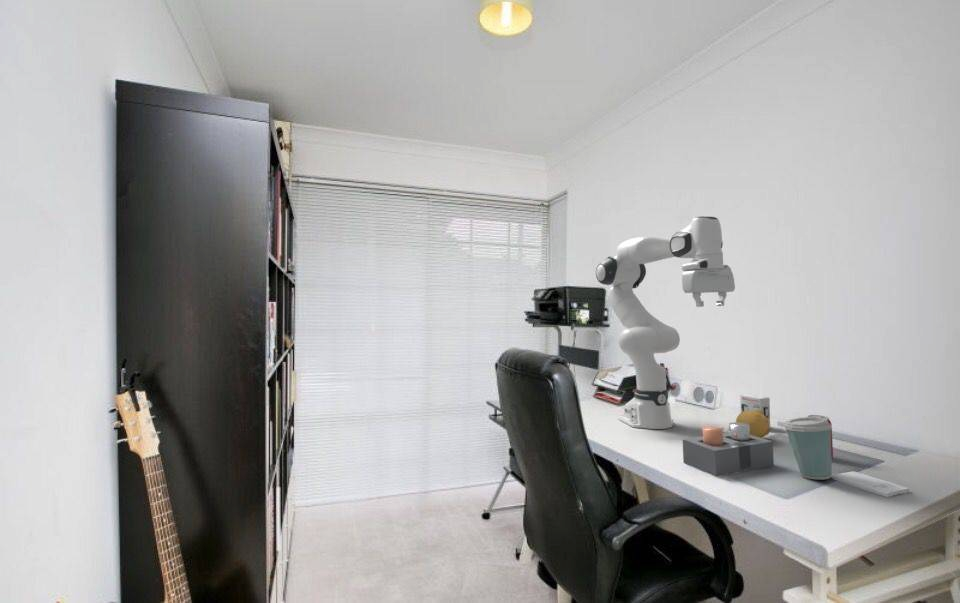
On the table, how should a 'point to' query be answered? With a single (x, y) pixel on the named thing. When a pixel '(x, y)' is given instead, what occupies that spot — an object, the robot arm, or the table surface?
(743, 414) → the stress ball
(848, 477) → the external hard drive
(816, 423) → the disposable coffee cup
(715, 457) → the block
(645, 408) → the robot arm
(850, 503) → the table surface
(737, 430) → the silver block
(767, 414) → the ink box
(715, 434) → the terracotta button
